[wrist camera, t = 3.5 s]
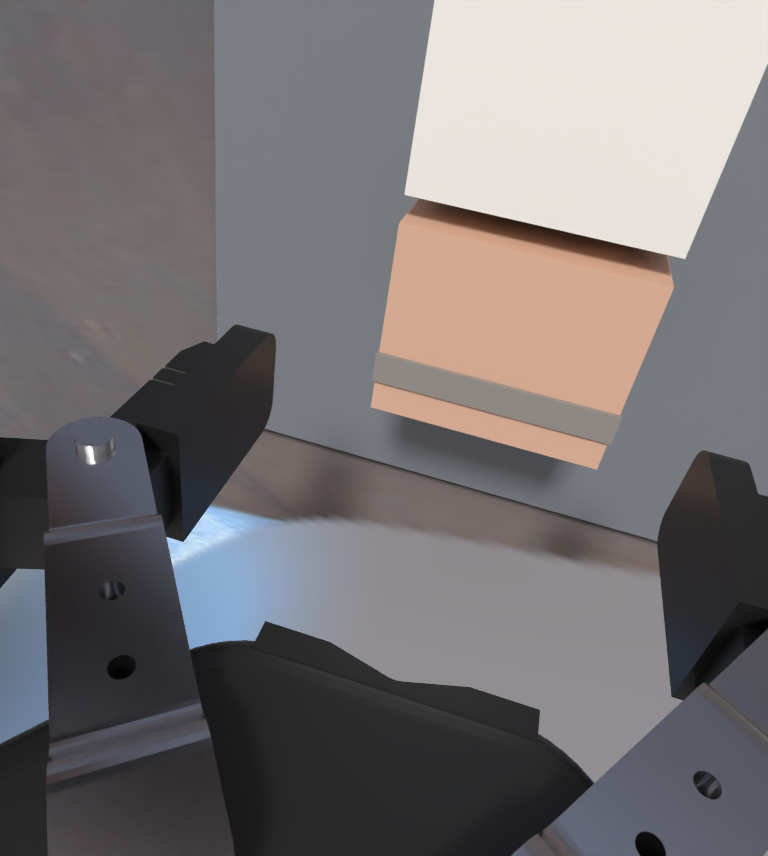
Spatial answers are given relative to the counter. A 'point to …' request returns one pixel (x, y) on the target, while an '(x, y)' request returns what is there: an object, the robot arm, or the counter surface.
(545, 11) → the teal-patched white cuboid
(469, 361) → the stub
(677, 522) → the robot arm
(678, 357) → the mat
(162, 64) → the counter surface
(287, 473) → the counter surface
